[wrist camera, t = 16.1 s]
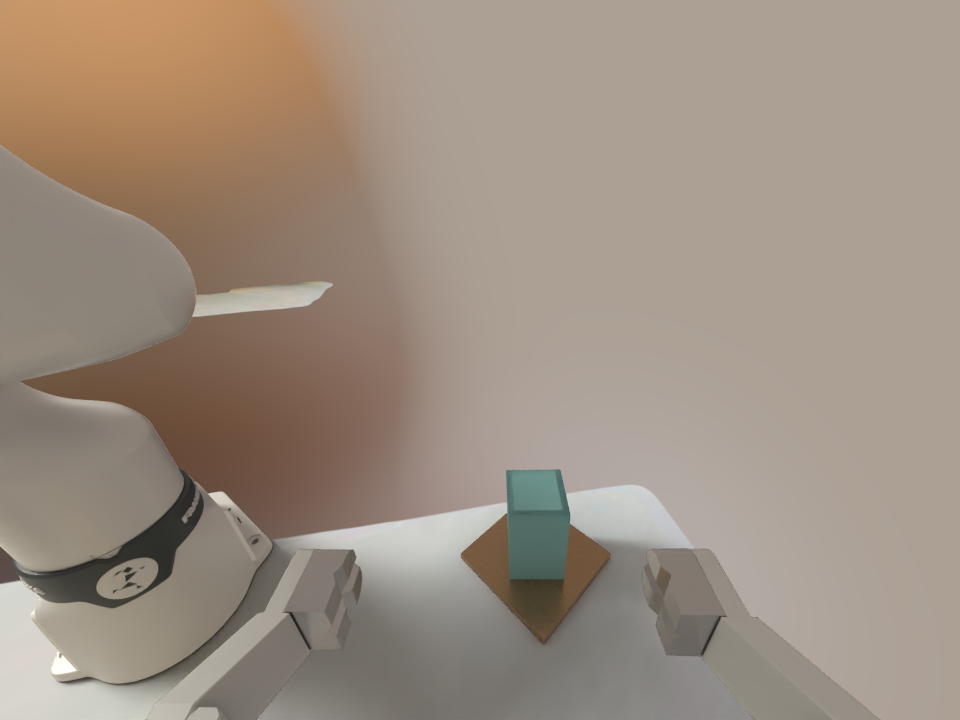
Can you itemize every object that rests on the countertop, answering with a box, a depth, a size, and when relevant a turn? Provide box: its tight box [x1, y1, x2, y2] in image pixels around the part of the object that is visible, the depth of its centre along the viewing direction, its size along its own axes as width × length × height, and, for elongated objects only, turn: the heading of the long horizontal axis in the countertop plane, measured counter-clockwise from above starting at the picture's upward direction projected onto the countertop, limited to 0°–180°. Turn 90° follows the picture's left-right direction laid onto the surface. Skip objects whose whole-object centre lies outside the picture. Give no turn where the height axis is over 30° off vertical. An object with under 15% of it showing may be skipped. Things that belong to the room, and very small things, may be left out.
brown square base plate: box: [461, 513, 610, 644], centre depth 39 cm, size 17×17×8 cm
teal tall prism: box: [506, 470, 570, 579], centre depth 38 cm, size 6×6×10 cm
